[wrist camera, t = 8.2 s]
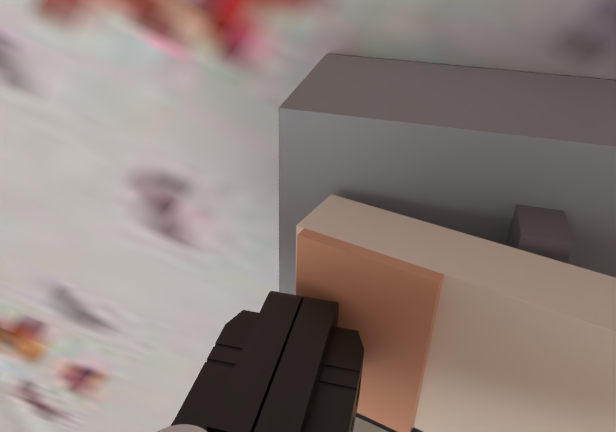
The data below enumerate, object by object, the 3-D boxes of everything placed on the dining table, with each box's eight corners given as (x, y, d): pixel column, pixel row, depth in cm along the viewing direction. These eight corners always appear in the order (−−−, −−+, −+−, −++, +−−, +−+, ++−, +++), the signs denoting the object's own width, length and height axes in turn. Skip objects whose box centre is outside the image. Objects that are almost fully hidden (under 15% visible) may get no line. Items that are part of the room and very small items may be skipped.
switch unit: (961, 111, 13) (1292, 256, 8) (642, 566, 25) (691, 748, 19) (326, 53, 16) (260, 128, 11) (308, 480, 28) (271, 617, 22)
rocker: (899, 361, 8) (950, 456, 7) (766, 518, 11) (782, 613, 9) (331, 194, 12) (288, 231, 11) (323, 333, 15) (287, 379, 13)
